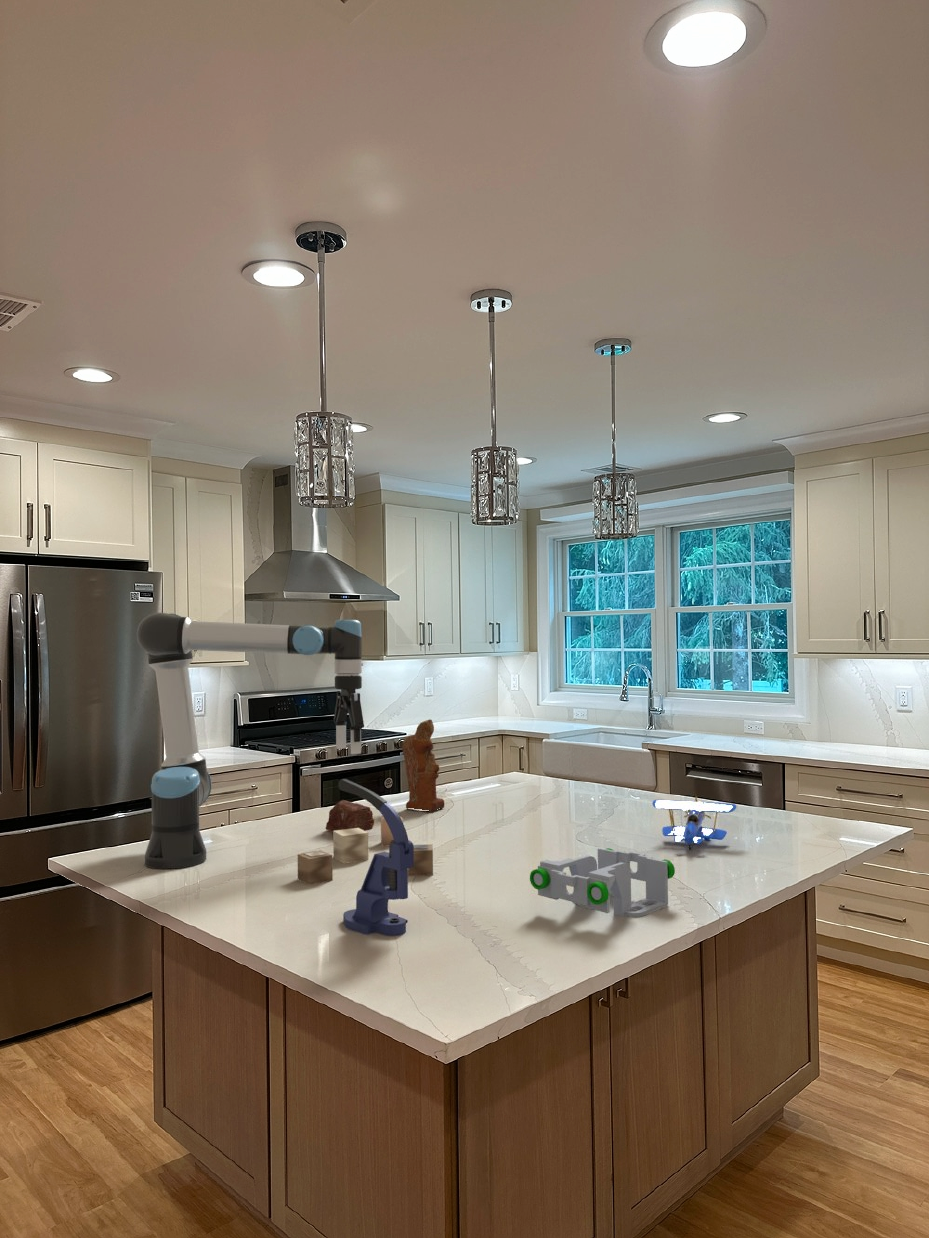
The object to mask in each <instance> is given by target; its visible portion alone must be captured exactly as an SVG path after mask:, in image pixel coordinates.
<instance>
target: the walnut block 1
mask: <svg viewBox="0 0 929 1238" xmlns="http://www.w3.org/2000/svg"><path fill="white" fill-rule="evenodd" d="M333 871H334V870H333V854H331V853H329V852H325V851H323V850H315V851H309V852H304V853H303V852H302V853H298V854H297V880H298V879H299V880H298V881H300V880H301V881H300V882H302V881H303V883H304V882H305V884H307V885H308V886H309V885H310V886H311V885H315V884H316V885H317V884H320V883H326V882H331V881H333V880H334V878H333V875H334V874H333Z"/></svg>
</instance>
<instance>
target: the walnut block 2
mask: <svg viewBox="0 0 929 1238" xmlns="http://www.w3.org/2000/svg"><path fill="white" fill-rule="evenodd" d="M413 846H414V867H411V868H408V877H409V876H411V877H413V876H434V862H433V861H434V849H433V847H434V846H433V844H430V843H429V844H428V843H427V844H413Z"/></svg>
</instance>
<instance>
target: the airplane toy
mask: <svg viewBox="0 0 929 1238" xmlns="http://www.w3.org/2000/svg"><path fill="white" fill-rule="evenodd" d="M694 799H695V801H689V800H674V799H654V800H652V806H653V807H654V808H655V809H658V810H668V814H669V820H670V825H669V826H666V825H665V826H663V827H662V829H661V831H662V835H663V836H664V837H673V841H674V842H675V843H681V842H683V841H684V843H685V844H687V845H688V851H692V848H693V847H692V844H696V845H699V844H701V843H702V842H703V840H705V841H707V842H708V841H710V840H719V841H722V840H724V839H725V837H726V836H727V834H728V833H727V831H726V830H724V829H721V828H720V829H719V828H716V827H717V819H718V813H722V814H723V813H725V814H729V813H733V812H734V811H735V810H736V809H737V807H738V806H737V804H736V803H728V802H711V801H710V802H706V801H698V796H695V797H694ZM674 811H682V812H685V815H684V816H683V818H686V824H685V825H675V819H674ZM705 813H715V817H714V825H713V827H706V826H705V827H704V826H702V825H703V823H704V822H703V821H704V820H705V817H706V818H708V819H710V820H711V819H712V817H711V816H710V815H708V814H705Z"/></svg>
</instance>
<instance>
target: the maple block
mask: <svg viewBox="0 0 929 1238" xmlns="http://www.w3.org/2000/svg"><path fill="white" fill-rule="evenodd" d="M332 833H333V835H332V837H333V840H332V842H333V854H332V855H333V858H334V859H335V860H337V861H338V862H340V863H341V862H342V864H348V863H347V862H349V863H355V862H354V861H357V862H363V861H364V862H365V861H369V832H368V831H364V830H362V829H360V828H353V829H344V830H336V831H333V832H332Z"/></svg>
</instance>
